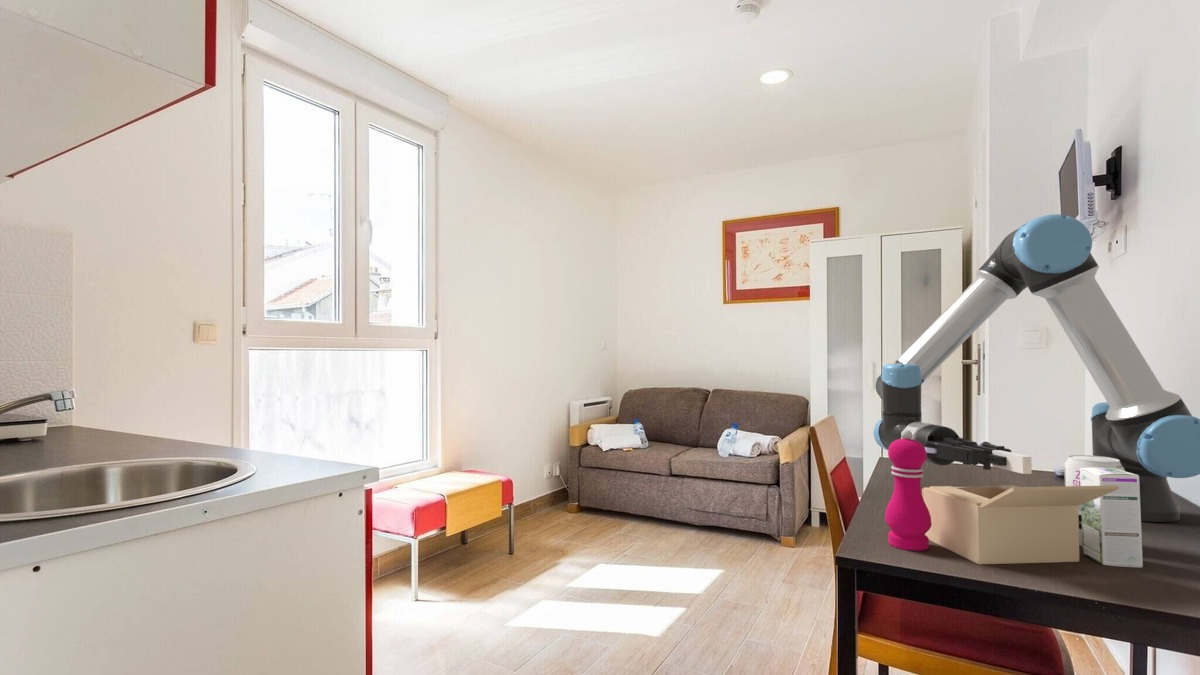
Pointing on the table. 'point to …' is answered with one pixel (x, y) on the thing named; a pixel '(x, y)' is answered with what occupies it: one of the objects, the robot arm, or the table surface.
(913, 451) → the pepper mill
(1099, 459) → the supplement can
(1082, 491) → the long flap
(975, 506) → the carton
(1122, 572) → the table surface
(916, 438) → the robot arm
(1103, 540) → the syrup box
